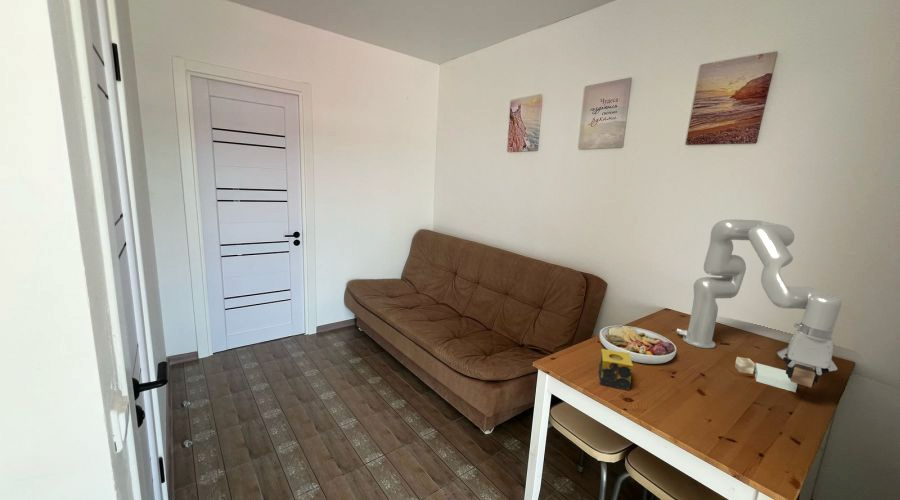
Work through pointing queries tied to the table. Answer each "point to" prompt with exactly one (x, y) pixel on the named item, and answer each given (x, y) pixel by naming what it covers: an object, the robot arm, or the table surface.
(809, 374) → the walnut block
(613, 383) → the yellow black cube
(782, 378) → the plate
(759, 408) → the table surface
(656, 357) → the bowl
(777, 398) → the table surface
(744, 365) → the birch block
